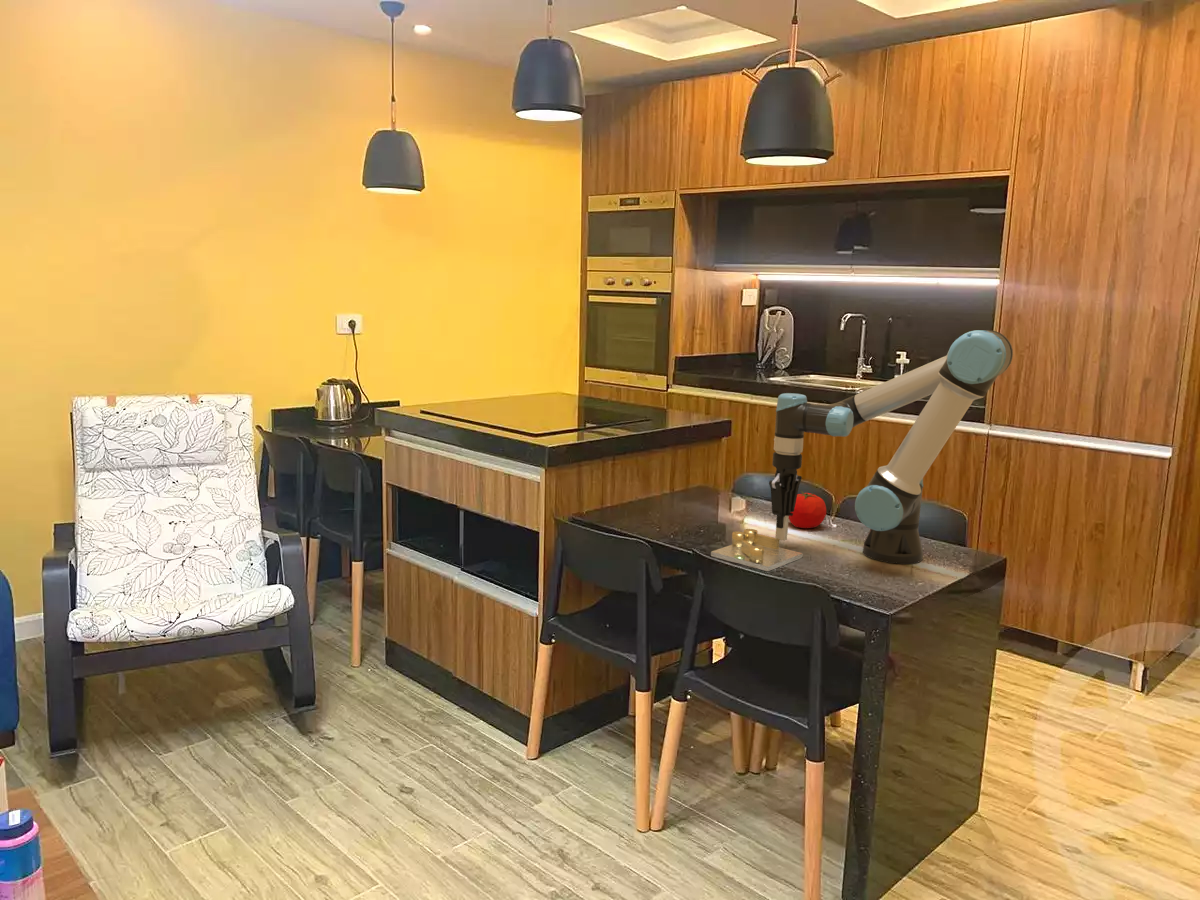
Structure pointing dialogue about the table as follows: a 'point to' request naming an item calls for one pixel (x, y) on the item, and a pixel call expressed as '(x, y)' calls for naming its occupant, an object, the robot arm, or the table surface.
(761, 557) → the gold piece
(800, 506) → the tomato
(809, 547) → the table surface
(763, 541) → the gold block
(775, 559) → the plate
